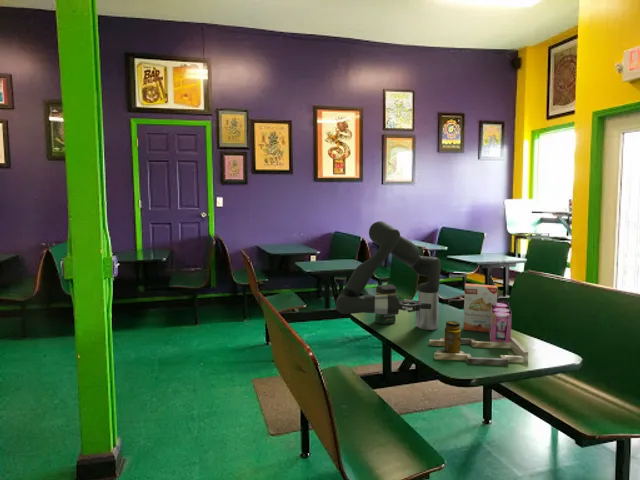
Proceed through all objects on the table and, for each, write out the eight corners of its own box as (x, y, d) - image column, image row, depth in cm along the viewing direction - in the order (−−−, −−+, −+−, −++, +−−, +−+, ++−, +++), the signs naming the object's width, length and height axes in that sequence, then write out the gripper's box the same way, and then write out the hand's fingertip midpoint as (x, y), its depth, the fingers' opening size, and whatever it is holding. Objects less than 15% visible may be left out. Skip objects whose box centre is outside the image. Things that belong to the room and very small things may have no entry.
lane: (436, 362, 165) (436, 352, 165) (428, 341, 189) (428, 332, 189) (531, 366, 161) (531, 355, 161) (511, 344, 185) (511, 335, 185)
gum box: (511, 348, 180) (512, 315, 179) (490, 346, 183) (491, 313, 182) (507, 331, 203) (509, 302, 201) (489, 329, 205) (490, 300, 204)
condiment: (464, 352, 176) (465, 323, 175) (450, 357, 171) (451, 326, 170) (450, 347, 182) (450, 318, 181) (435, 351, 177) (436, 322, 176)
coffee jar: (380, 325, 213) (380, 287, 211) (372, 321, 220) (373, 284, 218) (398, 323, 216) (398, 285, 214) (390, 319, 223) (390, 282, 222)
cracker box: (463, 330, 205) (464, 285, 203) (463, 326, 210) (464, 282, 208) (495, 333, 200) (497, 287, 198) (495, 329, 206) (497, 284, 203)
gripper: (387, 298, 171) (433, 300, 169) (386, 291, 184) (429, 293, 182) (386, 318, 171) (433, 319, 169) (385, 309, 184) (428, 311, 182)
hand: (430, 306), depth 176 cm, fingers closed
